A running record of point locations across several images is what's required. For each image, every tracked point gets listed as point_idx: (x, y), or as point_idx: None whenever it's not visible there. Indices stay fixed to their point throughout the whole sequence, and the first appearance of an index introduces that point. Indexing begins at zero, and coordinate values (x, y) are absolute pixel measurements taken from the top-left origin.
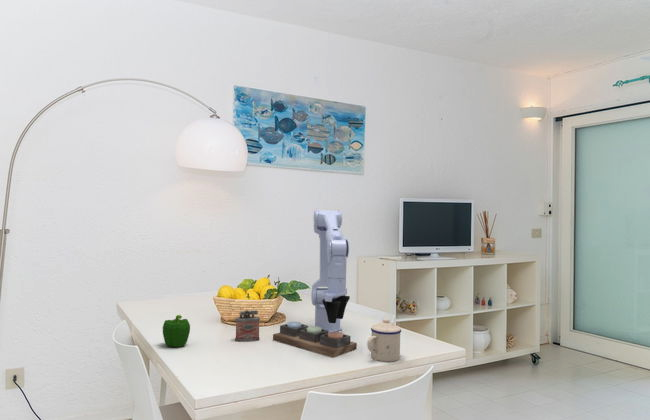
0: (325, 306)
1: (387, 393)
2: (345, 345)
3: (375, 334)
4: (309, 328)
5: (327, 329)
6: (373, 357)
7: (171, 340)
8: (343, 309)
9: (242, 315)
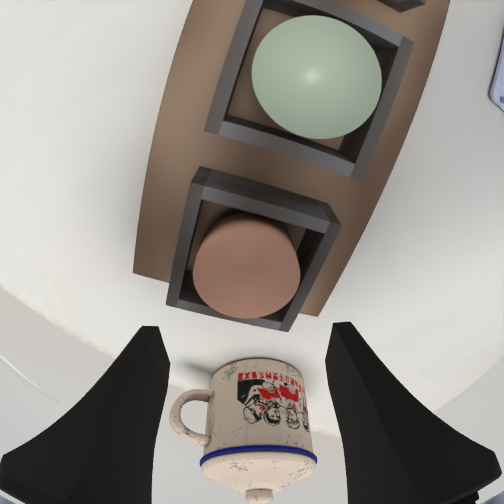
0: (43, 441)
1: (52, 399)
2: None
3: (207, 448)
4: (288, 44)
5: None
6: (217, 372)
7: None
8: (343, 435)
9: None
